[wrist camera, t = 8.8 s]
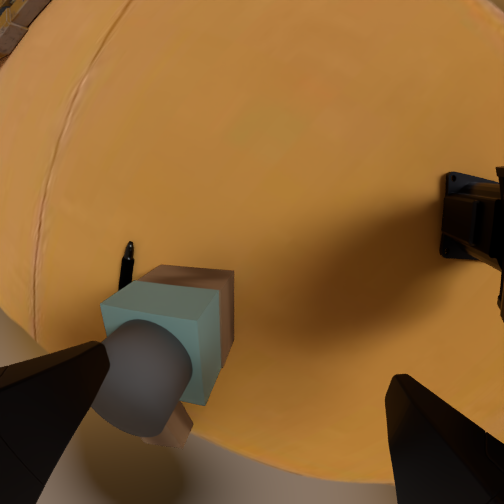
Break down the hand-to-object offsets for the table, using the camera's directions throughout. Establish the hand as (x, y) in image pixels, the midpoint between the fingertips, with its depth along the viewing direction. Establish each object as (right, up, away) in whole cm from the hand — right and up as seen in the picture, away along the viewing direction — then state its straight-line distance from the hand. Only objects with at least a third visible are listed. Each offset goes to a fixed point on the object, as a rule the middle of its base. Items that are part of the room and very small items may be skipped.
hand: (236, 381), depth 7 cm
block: (-9, -14, +19) cm, 25 cm away
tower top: (-5, -1, +11) cm, 12 cm away
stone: (-5, -2, +7) cm, 9 cm away
